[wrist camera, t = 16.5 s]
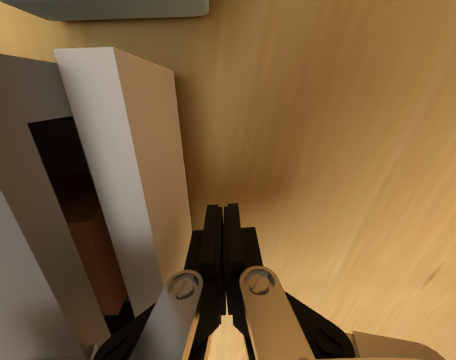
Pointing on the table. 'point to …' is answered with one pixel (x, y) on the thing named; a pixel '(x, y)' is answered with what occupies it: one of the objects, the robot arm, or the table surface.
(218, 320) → the robot arm
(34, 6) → the radio
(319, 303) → the table surface
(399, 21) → the table surface
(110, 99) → the light grey drawer
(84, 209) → the block
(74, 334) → the housing
